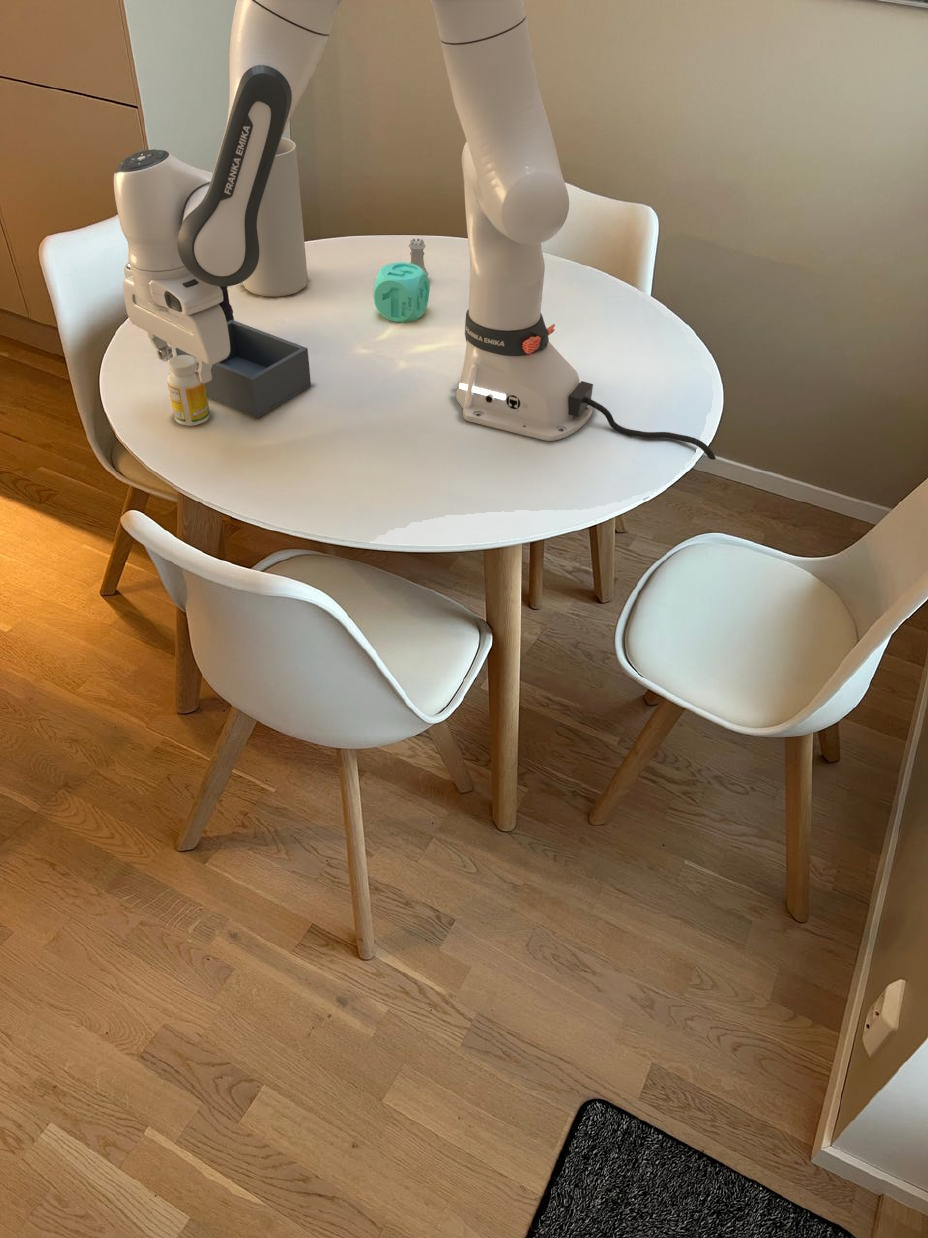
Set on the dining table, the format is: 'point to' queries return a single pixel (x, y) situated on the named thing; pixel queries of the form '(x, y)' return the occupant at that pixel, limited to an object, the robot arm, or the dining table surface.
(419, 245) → the rook chess piece
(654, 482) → the dining table surface
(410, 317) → the decorative dice
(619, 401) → the dining table surface
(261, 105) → the robot arm
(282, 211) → the cylinder vase
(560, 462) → the dining table surface
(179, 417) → the supplement bottle
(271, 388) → the box shelf
